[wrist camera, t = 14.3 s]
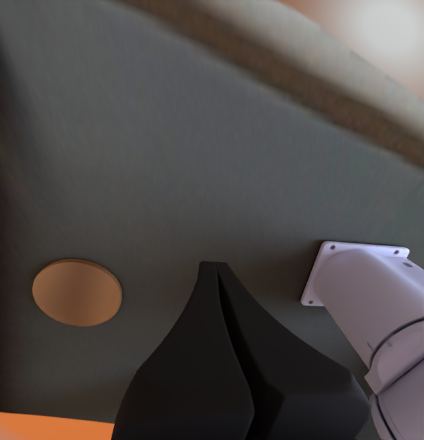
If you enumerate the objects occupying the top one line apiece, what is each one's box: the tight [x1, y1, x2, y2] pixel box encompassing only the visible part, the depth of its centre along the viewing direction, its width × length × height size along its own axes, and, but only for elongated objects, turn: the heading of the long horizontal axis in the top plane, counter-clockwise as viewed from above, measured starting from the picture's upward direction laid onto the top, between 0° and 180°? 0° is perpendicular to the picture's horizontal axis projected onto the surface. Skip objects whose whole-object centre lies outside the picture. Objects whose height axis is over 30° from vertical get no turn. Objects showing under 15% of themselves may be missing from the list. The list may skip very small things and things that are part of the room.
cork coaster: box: [32, 259, 122, 326], centre depth 22 cm, size 8×8×1 cm
